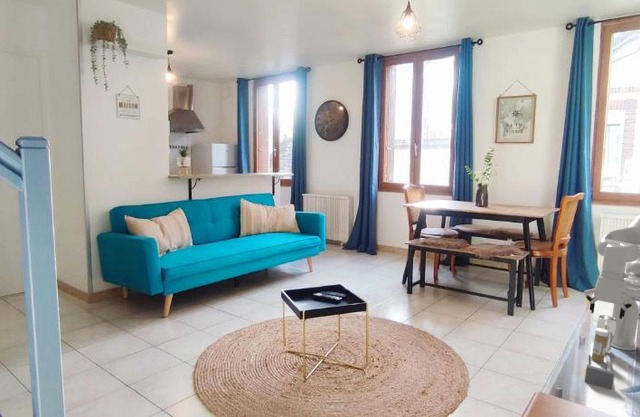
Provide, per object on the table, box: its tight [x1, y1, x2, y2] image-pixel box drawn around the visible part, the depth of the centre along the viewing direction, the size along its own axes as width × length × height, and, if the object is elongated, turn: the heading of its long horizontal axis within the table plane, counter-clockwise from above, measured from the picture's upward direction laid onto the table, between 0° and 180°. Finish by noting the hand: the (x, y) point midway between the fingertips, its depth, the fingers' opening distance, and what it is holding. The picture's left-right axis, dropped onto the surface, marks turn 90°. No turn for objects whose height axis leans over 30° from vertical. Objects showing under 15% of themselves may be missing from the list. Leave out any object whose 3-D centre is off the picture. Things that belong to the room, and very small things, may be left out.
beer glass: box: [595, 314, 617, 355], centre depth 186 cm, size 7×7×15 cm
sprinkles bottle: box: [591, 328, 609, 363], centre depth 177 cm, size 5×5×13 cm
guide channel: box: [584, 350, 615, 390], centre depth 170 cm, size 27×8×6 cm, turn 148°
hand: (606, 314), depth 174 cm, fingers open, 9 cm apart
